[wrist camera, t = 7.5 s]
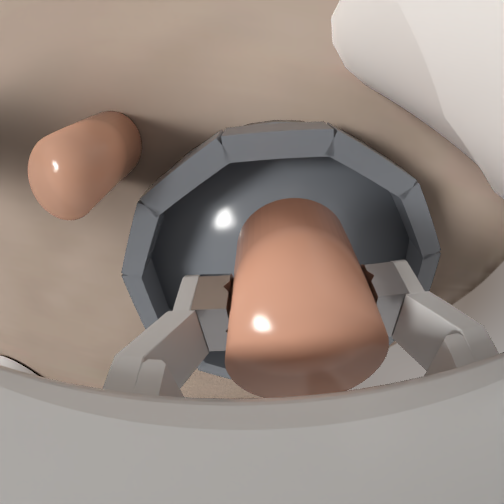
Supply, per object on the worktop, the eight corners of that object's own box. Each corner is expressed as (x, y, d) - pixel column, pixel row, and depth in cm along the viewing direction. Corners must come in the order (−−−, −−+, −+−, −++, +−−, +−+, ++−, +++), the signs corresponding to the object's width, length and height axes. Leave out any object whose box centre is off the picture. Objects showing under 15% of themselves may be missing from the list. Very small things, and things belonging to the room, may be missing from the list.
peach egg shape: (349, 194, 10) (406, 296, 5) (341, 286, 12) (370, 392, 8) (230, 202, 10) (209, 311, 6) (243, 293, 12) (237, 404, 8)
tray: (388, 341, 23) (397, 369, 21) (180, 356, 24) (174, 385, 22) (432, 123, 13) (462, 136, 11) (109, 145, 14) (82, 162, 12)
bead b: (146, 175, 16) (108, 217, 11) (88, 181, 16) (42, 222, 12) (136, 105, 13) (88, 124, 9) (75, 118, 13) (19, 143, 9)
